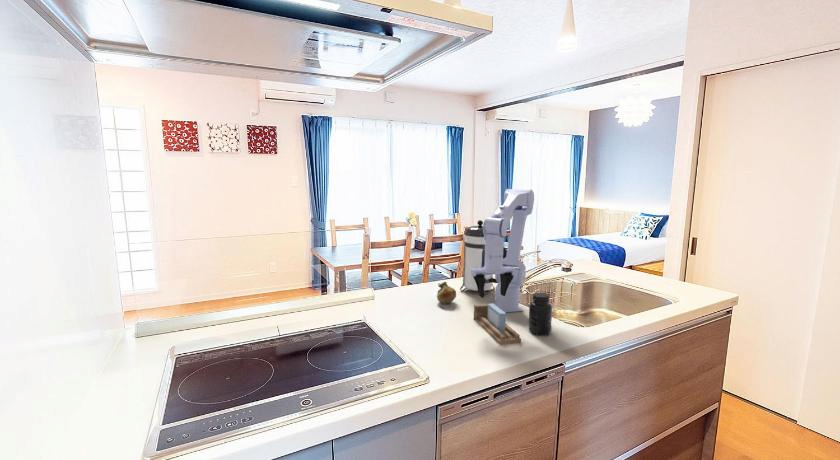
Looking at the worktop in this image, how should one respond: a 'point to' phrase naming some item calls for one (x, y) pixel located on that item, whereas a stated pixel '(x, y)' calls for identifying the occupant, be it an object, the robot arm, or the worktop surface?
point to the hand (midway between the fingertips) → (492, 295)
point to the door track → (500, 337)
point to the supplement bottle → (540, 314)
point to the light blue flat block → (496, 317)
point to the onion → (445, 293)
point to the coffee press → (475, 257)
